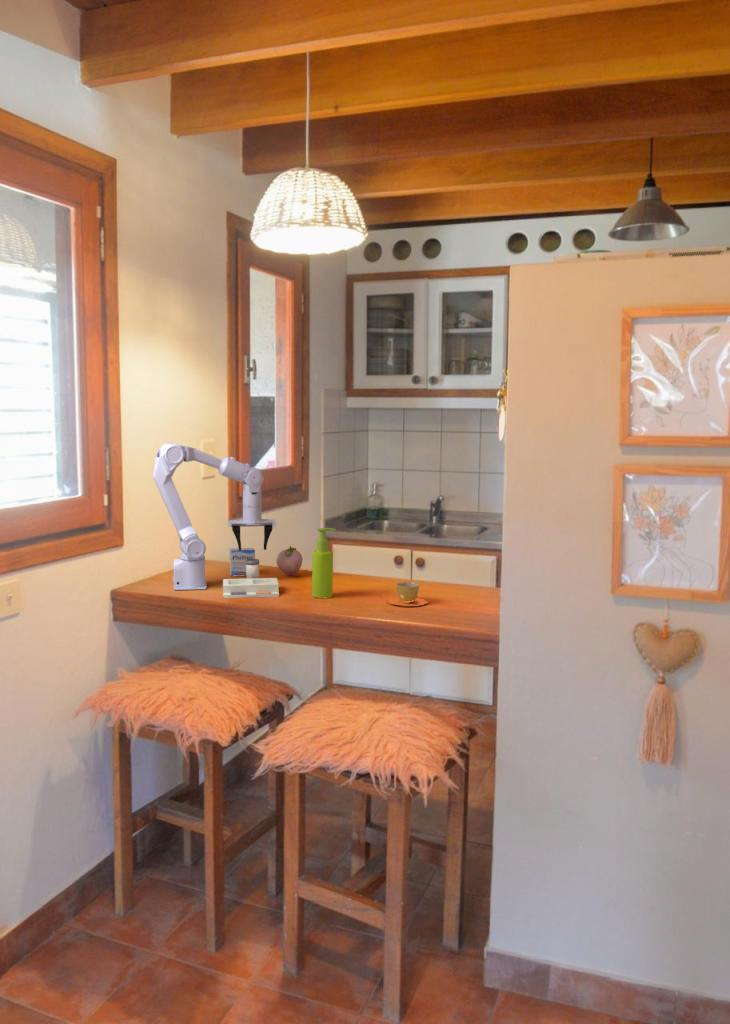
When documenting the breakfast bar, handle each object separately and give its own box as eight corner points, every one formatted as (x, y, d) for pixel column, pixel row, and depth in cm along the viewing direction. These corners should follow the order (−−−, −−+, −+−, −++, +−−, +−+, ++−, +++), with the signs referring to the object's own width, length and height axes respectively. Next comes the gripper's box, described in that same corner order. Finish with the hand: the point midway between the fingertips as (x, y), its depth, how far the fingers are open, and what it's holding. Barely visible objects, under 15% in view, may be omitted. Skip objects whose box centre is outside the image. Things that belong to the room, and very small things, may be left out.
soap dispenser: (337, 598, 226) (338, 529, 223) (313, 598, 224) (314, 530, 222) (333, 593, 232) (334, 526, 229) (310, 594, 230) (311, 526, 228)
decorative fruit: (278, 573, 259) (278, 543, 257) (303, 573, 259) (303, 543, 257) (275, 579, 249) (275, 548, 248) (300, 579, 249) (300, 548, 248)
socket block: (223, 598, 224) (222, 587, 224) (223, 588, 235) (223, 579, 235) (279, 596, 227) (279, 586, 226) (276, 587, 238) (276, 577, 238)
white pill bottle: (246, 583, 243) (246, 561, 242) (245, 580, 247) (245, 558, 246) (259, 583, 244) (259, 561, 243) (259, 580, 248) (258, 558, 247)
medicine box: (230, 576, 252) (230, 550, 251) (229, 574, 257) (229, 548, 255) (255, 575, 254) (255, 549, 253) (253, 573, 259) (253, 547, 257)
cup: (429, 608, 216) (430, 589, 215) (386, 608, 216) (386, 589, 216) (427, 598, 228) (427, 580, 227) (385, 597, 228) (386, 579, 227)
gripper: (228, 508, 236) (228, 552, 238) (276, 507, 239) (276, 551, 240) (228, 505, 243) (228, 548, 245) (275, 504, 245) (275, 547, 247)
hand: (252, 549), depth 243 cm, fingers open, 7 cm apart
